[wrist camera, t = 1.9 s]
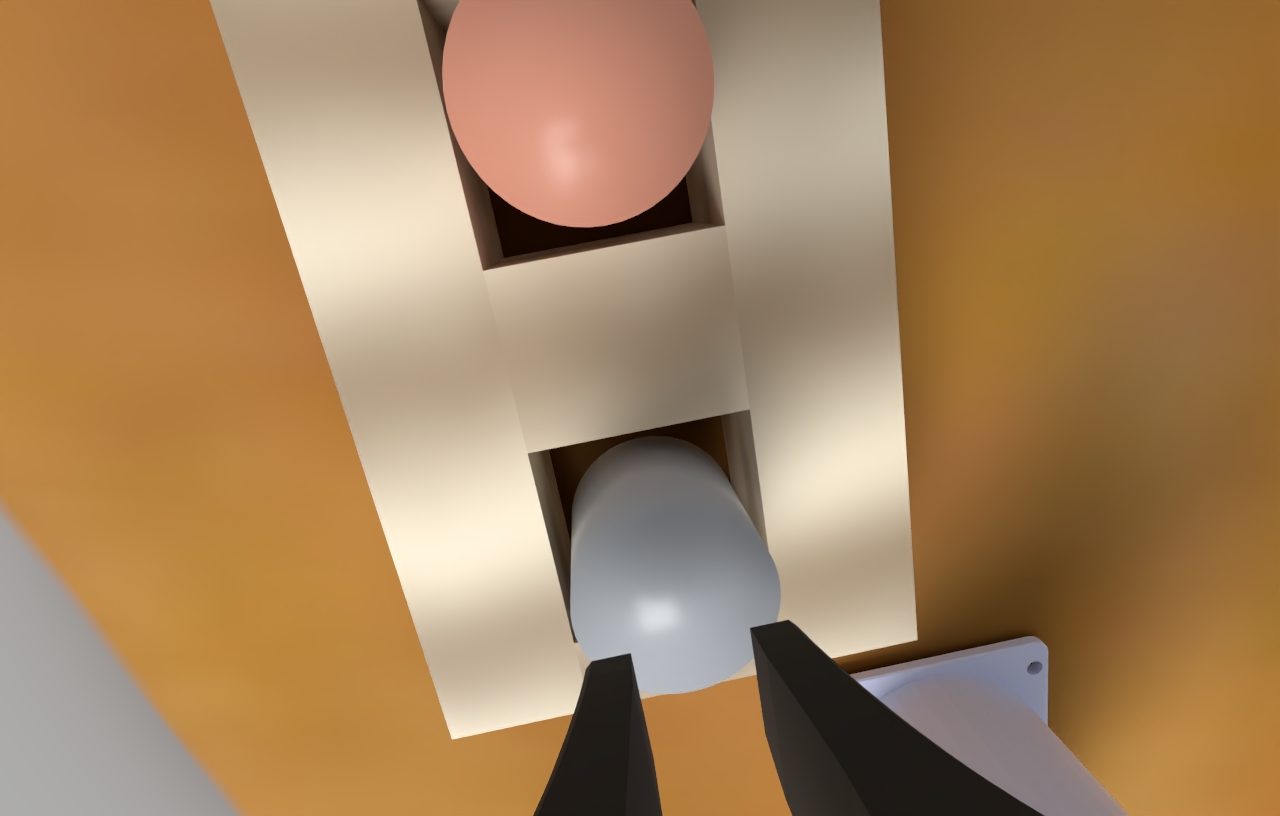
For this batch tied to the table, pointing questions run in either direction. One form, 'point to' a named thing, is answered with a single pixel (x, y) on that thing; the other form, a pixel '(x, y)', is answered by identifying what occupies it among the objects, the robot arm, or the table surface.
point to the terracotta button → (579, 102)
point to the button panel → (596, 327)
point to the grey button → (667, 566)
